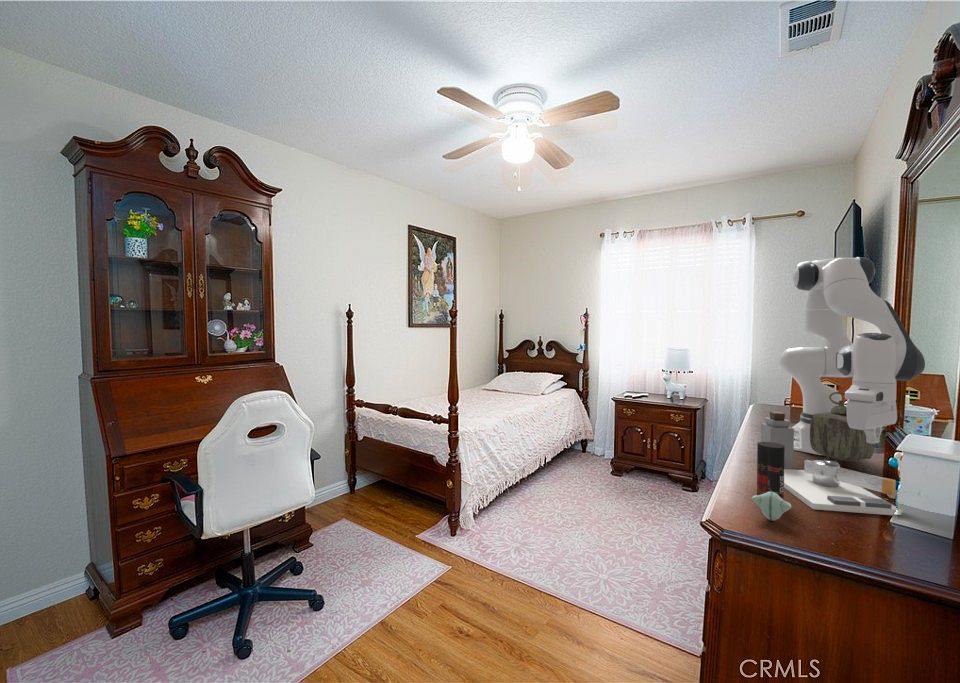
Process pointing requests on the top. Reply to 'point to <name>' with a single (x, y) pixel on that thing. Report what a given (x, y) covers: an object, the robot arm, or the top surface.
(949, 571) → the top surface
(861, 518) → the top surface
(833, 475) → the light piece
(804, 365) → the robot arm
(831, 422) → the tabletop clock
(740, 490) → the top surface
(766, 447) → the deodorant
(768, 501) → the mint green pointed piece
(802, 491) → the stand
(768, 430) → the perfume bottle
